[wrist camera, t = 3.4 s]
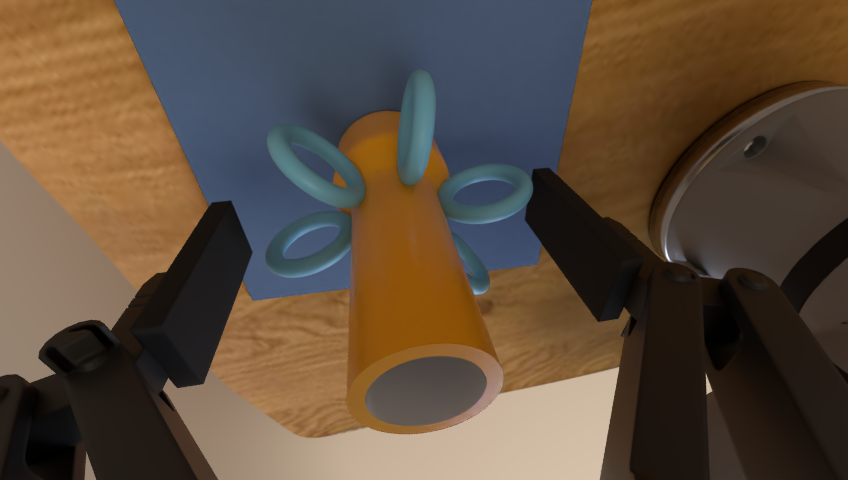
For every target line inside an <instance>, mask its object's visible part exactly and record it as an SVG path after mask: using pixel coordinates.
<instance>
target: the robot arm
mask: <svg viewBox="0 0 848 480" xmlns="http://www.w3.org/2000/svg"><path fill="white" fill-rule="evenodd" d="M531 180H532V183H533V193H532V196H531V198H530V200H529V202H528V203H527V208H526V214H525V221H526V223H527V224H528V225H529V227H530V228H531V229H532V231H533V232H534V234H535V235H536V236H537V238H538V239H539V241H540V242H541V243H542V245H543V246H544V248H545V249H546V250H547V252H548V253H549V254H550V256H551V257H552V259H553V260H554V261H555V263H556V264H557V266H558V267H559V268H560V270H561V271H562V273H563V274H564V275H565V277H566V278H567V279H568V281H569V282H570V284H571V285H572V286H573V288H574V289H575V291H576V292H577V293H578V295H579V296H580V297H581V299H582V300H583V302H584V303H585V304H586V306H587V307H588V309H589V310H590V311H591V313H592V314H593V316H594V317H595V318H596V320H597V321H598V322H600V321H607V320H613V319H618V318H619V316H620V314H621V312H622V309H623V307H625V308H626V310H627V311H628V312H629V313H630V314H631V315H630V317H629V320H628V322H627V324H626V326H625V328H624V330H623V332H622V334H621V336H622V337H625V339H624V344H623V350H622V356H621V361H620V367H619V374H618V379H617V385H616V390H615V396H614V402H613V407H612V413H611V419H610V424H609V430H608V436H607V442H606V447H605V453H604V459H603V464H602V470H601V477H600V480H848V86H846V85H841V84H836V83H831V82H824V81H808V82H801V83H796V84H792V85H788V86H785V87H782V88H778V89H776V90H773V91H771V92H768V93H766V94H764V95H762V96H760V97H758V98H756V99H754V100H752V101H750V102H748V103H747V104H745V105H743V106H741V107H740V108H738V109H737V110H735V111H734V112H732V113H731V114H729V115H728V116H726V117H725V118H724V119H722V120H721V121H720V122H718V123H717V124H716V125H715V126H713V127H712V128H711V129H710V130H709V131H707V132H706V133H705V134H704V135H703V136H702V137H701V138H700V139H699V140H698V141H697V142H696V143H695V144H694V145H693V146H692V147H691V148H690V149H689V150H688V151H687V152H686V153H685V155H684V156H683V157H682V158H681V159H680V160H679V162H678V163H677V164H676V166H675V167H674V168H673V170H672V171H671V173H670V174H669V176H668V177H667V179H666V180H665V182H664V184H663V186H662V187H661V189H660V191H659V194H658V196H657V198H656V200H655V203H654V206H653V209H652V213H651V218H650V229H649V231H650V238H651V242H652V244H653V246H654V248H655V250H656V251H657V253H658V254H659V255H660V256H661V257H663V258H664V259H665V260H666V261H667V262H663V261H662V260H661V259H660V258H659V257H658V256H657V255H656V254H654V253H653V252H652V251H651V250H650V249H649V248H648V247H647V246H646V245H644V244H643V243H642V242H641V241H640V240H637V237H636V236H634V235H633V234H632V233H630V231H629V230H628V229H627V228H626V227H624V226H623V225H622V224H621V223H619V222H617V221H615V220H613V219H611V218H609V217H605V218H602V217H601V216H600V215H599V214H598V213H597V212H595V211H594V210H593V209H592V208H591V207H590V206H589V205H588V204H587V203H586V202H585V201H584V200H583V199H582V198H581V197H580V196H579V195H577V194H576V193H575V192H574V191H573V190H572V189H571V188H570V187H569V186H568V185H567V184H566V183H565V182H564V181H563V180H562V179H561V178H560V177H558V176H557V175H556V174H555V173H554V172H553V171H552V170H551V169H550V168H539V169H533V172H532V178H531ZM252 253H253V251H252V249H251V247H250V244H249V242H248V239H247V237H246V235H245V232H244V230H243V227H242V225H241V223H240V220H239V218H238V216H237V213H236V211H235V208H234V206H233V204H232V201H231V200H230V201H221V202H212V203H211V204H210V206H209V207H208V209H207V210H206V212H205V214H204V215H203V217H202V218H201V220H200V221H199V223H198V224H197V226H196V227H195V229H194V230H193V232H192V234H191V235H190V237H189V238H188V240H187V241H186V243H185V244H184V246H183V247H182V249H181V251H180V252H179V254H178V255H177V257H176V258H175V260H174V261H173V263H172V264H171V266H170V267H169V269H168V271H167V272H164V273H157V274H155V275H154V276H153V277H152V278H150V279H149V280H148V281H147V282H146V283H144V284H143V285H142V287H141V288H140V290H139V291H138V293H137V294H136V296H135V298H134V299H133V300H132V301H131V303H130V304H129V305H128V308H126V310H125V311H124V313H123V314H122V315H121V317H120V318H119V320H118V321H117V323H116V324H115V325H114V327H113V328H112V330H111V331H110V330H109V329H108V327H107V326H106V325H105V324H104V323H102V322H101V321H98V320H88V321H84V322H79V323H77V324H74V325H72V326H69V327H67V328H65V329H64V330H62V331H60V332H59V333H57V334H55V335H54V336H53V337H52V338H50V339H49V340H48V341H47V342H46V343H45V344H44V346H43V347H42V348H41V350H40V351H39V359H40V360H41V361H42V362H43V363H44V364H46V365H47V366H48V367H49V368H50V369H51V370H53V371H54V372H55V373H56V374H54V375H51V376H48V377H45V378H43V379H40V380H37V381H34V382H32V383H29V382H27V381H26V380H25V379H24V378H22V377H20V376H19V375H16V374H14V375H5V376H1V377H0V480H84V477H85V463H86V451H87V454H88V457H89V460H90V463H91V466H92V468H93V471H94V474H95V477H96V480H218V479H217V477H216V476H215V474H214V472H213V470H212V469H211V467H210V465H209V464H208V462H207V460H206V459H205V457H204V455H203V454H202V452H201V450H200V449H199V447H198V445H197V444H196V442H195V440H194V439H193V437H192V435H191V434H190V432H189V430H188V429H187V427H186V425H185V424H184V422H183V420H182V419H181V417H180V415H179V414H178V412H177V410H176V409H175V407H174V405H173V404H172V402H171V400H170V399H169V397H168V396H167V394H166V393H165V392H164V391H163V387H164V385H165V383H166V381H167V379H168V378H169V379H170V380H171V381H172V382H173V384H174V385H175V386H176V387H177V388H181V387H187V386H194V385H200V384H203V383H204V381H205V378H206V376H207V373H208V371H209V368H210V365H211V363H212V360H213V357H214V355H215V352H216V349H217V347H218V344H219V341H220V339H221V336H222V333H223V331H224V328H225V325H226V323H227V320H228V317H229V315H230V312H231V309H232V307H233V304H234V301H235V299H236V296H237V293H238V291H239V288H240V285H241V283H242V280H243V277H244V275H245V272H246V269H247V267H248V264H249V261H250V259H251V256H252ZM706 374H707V377H708V380H709V383H710V385H711V388H712V392H710V393H708V394H707V395H706Z"/></svg>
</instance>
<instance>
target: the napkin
mask: <svg viewBox="0 0 848 480" xmlns="http://www.w3.org/2000/svg"><path fill="white" fill-rule="evenodd" d="M114 2H115V4H116V6H117V8H118V10H119V13H120V15H121V17H122V19H123V21H124V23H125V26H126V28H127V30H128V32H129V34H130V36H131V39H132V41H133V43H134V45H135V47H136V49H137V52H138V54H139V56H140V58H141V60H142V62H143V65H144V67H145V69H146V71H147V73H148V75H149V78H150V80H151V82H152V84H153V86H154V88H155V91H156V93H157V95H158V97H159V99H160V101H161V104H162V106H163V108H164V110H165V112H166V114H167V117H168V119H169V121H170V123H171V125H172V127H173V130H174V132H175V134H176V136H177V138H178V140H179V143H180V145H181V147H182V149H183V151H184V153H185V156H186V158H187V160H188V162H189V164H190V166H191V169H192V171H193V173H194V175H195V177H196V179H197V182H198V184H199V186H200V188H201V190H202V192H203V195H204V197H205V199H206V201H207V203H208V205H209V206H210V204H211V203H212V202H221V201H230V200H231V201H232V204H233V206H234V208H235V211H236V213H237V216H238V218H239V220H240V223H241V225H242V227H243V230H244V232H245V235H246V237H247V239H248V242H249V244H250V247H251V249H252V251H253V253H252V256H251V259H250V261H249V264H248V267H247V269H246V272H245V275H244V277H243V281H244V283H245V285H246V288H247V290H248V292H249V294H250V296H251V298H252V300H253V301H254V300H262V299H269V298H277V297H285V296H293V295H301V294H309V293H317V292H324V291H332V290H340V289H348V288H350V273H351V249H350V250H349V251H348V253H347V254H346V255H345V256H344V257H342V258H341V259H340V260H339V261H337V262H336V263H335V264H333V265H331V266H330V267H328V268H326V269H324V270H322V271H320V272H317V273H315V274H312V275H308V276H304V277H297V278H288V277H282V276H279V275H276V274H275V273H273V272H272V271H271V270H270V269H269V268H268V266H267V264H266V261H265V253H266V250H267V247H268V245H269V243H270V242H271V240H272V239H273V238H274V237H275V236H276V235H277V234H278V233H279V232H280V231H281V230H282V229H283V228H285V227H286V226H288V225H289V224H291V223H292V222H294V221H296V220H298V219H300V218H302V217H304V216H307V215H310V214H313V213H316V212H321V211H328V210H335V211H339V210H338V208H337V207H335V206H332V205H329V204H326V203H324V202H322V201H320V200H318V199H316V198H314V197H312V196H311V195H309V194H307V193H306V192H304V191H303V190H302V189H300V188H299V187H298V186H296V185H295V184H294V183H293V182H292V181H291V180H290V179H288V178H287V177H286V176H285V175H284V173H283V172H282V171H281V170H280V169H279V168H278V166H277V165H276V164H275V162H274V161H273V159H272V157H271V155H270V153H269V150H268V147H267V136H268V133H269V131H270V130H271V129H272V128H273V127H274V126H276V125H279V124H284V123H288V124H295V125H299V126H302V127H304V128H307V129H309V130H311V131H313V132H315V133H316V134H318V135H320V136H322V137H323V138H325V139H326V140H328V141H329V142H330V143H332V144H333V145H334V146H335V147H337V148H338V146H339V143H340V140H341V138H342V136H343V135H344V133H345V131H346V130H347V129H348V128H349V127H350V126H351V125H352V124H353V123H354V122H355V121H357V120H358V119H360V118H361V117H363V116H365V115H368V114H370V113H373V112H378V111H397V112H401V107H402V101H403V96H404V92H405V88H406V84H407V82H408V79H409V77H410V76H411V74H412V73H413V72H415V71H416V70H425V71H427V72H428V73H429V74H430V75H431V77H432V79H433V82H434V86H435V94H436V113H435V126H434V134H433V138H434V140H435V142H436V144H437V146H438V148H439V150H440V152H441V154H442V156H443V158H444V161H445V163H446V165H447V168H448V171H449V174H450V177H451V176H452V175H454V174H456V173H457V172H460V171H462V170H464V169H467V168H470V167H474V166H478V165H484V164H506V165H511V166H514V167H517V168H519V169H521V170H523V171H524V172H526V173H527V174H528V175H529V177H530V178H532V172H533V169H539V168H550V169H551V170H552V171H553V172H554V173H555V174H556V173H557V168H558V163H559V158H560V153H561V149H562V144H563V139H564V134H565V129H566V125H567V120H568V115H569V110H570V105H571V101H572V96H573V91H574V86H575V82H576V77H577V72H578V67H579V62H580V58H581V53H582V48H583V43H584V38H585V34H586V29H587V24H588V19H589V14H590V10H591V5H592V0H114ZM290 145H291V147H292V149H293V150H294V152H295V153H296V154H297V156H298V157H299V158H300V159H301V160H302V161H303V162H304V163H305V164H306V165H307V166H308V167H309V168H311V169H312V170H313V171H314V172H316V173H317V174H318V175H320V176H321V177H323V178H324V179H326V180H328V181H329V182H331V183H333V178H334V170H335V169H334V168H333V167H332V166H331V165H330V164H328V163H327V162H326V161H325V160H324V159H322V158H321V157H319V156H318V155H316V154H315V153H313V152H311V151H310V150H308V149H306V148H303V147H301V146H298V145H295V144H290ZM513 190H514V186H513V185H512V184H510V183H508V182H505V181H500V180H486V181H480V182H476V183H472V184H470V185H467V186H465V187H463V188H462V189H460V190H459V191H458V192H457V193H456V194H455V195H454V197H453V199H454V200H455V201H456V202H458V203H460V204H464V205H484V204H489V203H493V202H496V201H499V200H501V199H503V198H505V197H507V196H508V195H510V194H511V193H512V192H513ZM526 208H527V204H526V205H525V206H524V207H523V208H522V209H521V210H520V211H518V212H517V213H515V214H513V215H512V216H509V217H507V218H505V219H502V220H499V221H495V222H491V223H485V224H466V223H460V222H457V221H454V220H451V219H449V218H448V217H446V216H445V217H446V220H447V223H448V225H449V228H450V230H451V231H453V232H454V233H456V234H457V235H458V236H459V237H461V238H462V239H463V240H464V241H465V242H466V243H467V244H468V245H469V246H470V247H471V248H472V249H473V251H474V252H475V253H476V254H477V256H478V257H479V258H480V260H481V261H482V263H483V264H484V266H485V268H486V270H487V271H490V270H498V269H505V268H513V267H521V266H529V265H537V264H538V259H539V254H540V249H541V245H542V243H541V242H540V241H539V239H538V238H537V236H536V235H535V234H534V232H533V231H532V229H531V228H530V227H529V225H528V224H527V223H526V221H525V214H526ZM339 233H340V228H339V227H335V226H327V227H321V228H318V229H315V230H312V231H310V232H308V233H306V234H304V235H302V236H301V237H299V238H298V239H296V240H295V241H294V242H293V243H292V244H291V245H290V246H289V247H288V248H287V249H286V251H285V253H284V257H285V258H287V259H298V258H303V257H306V256H309V255H312V254H314V253H316V252H318V251H320V250H322V249H324V248H325V247H327V246H328V245H329V244H330V243H332V242H333V241H334V240H335V239H336V237H337V236H338V235H339ZM460 258H461V257H460ZM461 261H462V263H463V266H464V269H465V271H466V272H467V273H472V272H471V270H470V269H469V267H468V266H467V264H466V263H465V262H464V260H463V259H462V258H461Z"/></svg>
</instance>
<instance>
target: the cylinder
mask: <svg viewBox="0 0 848 480" xmlns="http://www.w3.org/2000/svg"><path fill="white" fill-rule="evenodd" d="M435 113H436V94H435V86H434V82H433V79H432V77H431V75H430V74H429V73H428V72H427V71H425V70H416V71H415V72H413V73H412V74H411V76H410V77H409V79H408V82H407V84H406V88H405V92H404V96H403V101H402V107H401V112H397V111H378V112H373V113H370V114H368V115H365V116H363V117H361V118H360V119H358V120H357V121H355V122H354V123H353V124H352V125H351V126H350V127H349V128H348V129H347V130H346V131H345V133H344V135H343V136H342V138H341V140H340V143H339V146H338V148H337V147H335V146H334V145H333V144H332V143H330V142H329V141H328V140H326V139H325V138H323V137H322V136H320V135H318V134H316V133H315V132H313V131H311V130H309V129H307V128H304V127H302V126H299V125H295V124H288V123H284V124H279V125H276V126H274V127H273V128H272V129H271V130H270V131H269V133H268V136H267V147H268V150H269V153H270V155H271V157H272V159H273V161H274V162H275V164H276V165H277V166H278V168H279V169H280V170H281V171H282V172H283V173H284V175H285V176H286V177H287V178H288V179H290V180H291V181H292V182H293V183H294V184H295V185H296V186H298V187H299V188H300V189H302V190H303V191H304V192H306V193H307V194H309V195H311V196H312V197H314V198H316V199H318V200H320V201H322V202H324V203H326V204H329V205H332V206H335V207H337V208H338V210H339V211H335V210H328V211H321V212H316V213H313V214H310V215H307V216H304V217H302V218H300V219H298V220H296V221H294V222H292V223H291V224H289V225H288V226H286V227H285V228H283V229H282V230H281V231H280V232H279V233H278V234H277V235H276V236H275V237H274V238H273V239H272V240H271V242H270V243H269V245H268V247H267V250H266V253H265V261H266V264H267V266H268V268H269V269H270V270H271V271H272V272H273V273H275V274H276V275H279V276H282V277H288V278H297V277H304V276H308V275H312V274H315V273H317V272H320V271H322V270H324V269H326V268H328V267H330V266H331V265H333V264H335V263H336V262H337V261H339V260H340V259H341V258H342V257H344V256H345V255H346V254H347V253H348V251H349V250H350V249H351V273H350V308H349V341H348V374H347V406H348V409H349V411H350V413H351V415H352V416H353V417H354V418H355V419H356V420H357V421H358V422H360V423H361V424H363V425H365V426H367V427H369V428H371V429H374V430H377V431H381V432H387V433H394V434H418V433H426V432H432V431H437V430H441V429H445V428H448V427H451V426H454V425H457V424H459V423H461V422H464V421H466V420H468V419H470V418H471V417H473V416H475V415H477V414H478V413H480V412H481V411H482V410H484V409H485V408H486V407H487V406H488V405H490V404H491V403H492V401H493V400H494V399H495V398H496V397H497V395H498V394H499V392H500V390H501V388H502V385H503V371H502V368H501V365H500V363H499V360H498V357H497V355H496V352H495V349H494V347H493V344H492V341H491V339H490V336H489V333H488V331H487V328H486V325H485V323H484V320H483V317H482V314H481V312H480V309H479V306H478V304H477V301H476V298H475V296H474V295H481V294H483V293H485V292H486V291H487V290H488V288H489V286H490V279H489V275H488V272H487V270H486V268H485V266H484V264H483V263H482V261H481V260H480V258H479V257H478V256H477V254H476V253H475V252H474V251H473V249H472V248H471V247H470V246H469V245H468V244H467V243H466V242H465V241H464V240H463V239H462V238H461V237H459V236H458V235H457V234H456V233H454V232H453V231H451V230H450V228H449V225H448V223H447V220H446V217H448V218H449V219H451V220H454V221H457V222H460V223H466V224H485V223H491V222H495V221H499V220H502V219H505V218H507V217H509V216H512V215H513V214H515V213H517V212H518V211H520V210H521V209H522V208H523V207H524V206H525V205H526V204H527V203H528V202H529V200H530V198H531V196H532V193H533V183H532V180H531V178H530V177H529V175H528V174H527V173H526V172H524V171H523V170H521V169H519V168H517V167H514V166H511V165H506V164H484V165H478V166H474V167H470V168H467V169H464V170H462V171H460V172H457V173H456V174H454V175H452V176H451V177H450V174H449V171H448V168H447V165H446V163H445V161H444V158H443V156H442V154H441V152H440V150H439V148H438V146H437V144H436V142H435V140H434V138H433V134H434V126H435ZM290 144H295V145H298V146H301V147H303V148H306V149H308V150H310V151H311V152H313V153H315V154H316V155H318V156H319V157H321V158H322V159H324V160H325V161H326V162H327V163H328V164H330V165H331V166H332V167H333V168H334V169H335V170H334V178H333V183H331V182H329V181H328V180H326V179H324V178H323V177H321V176H320V175H318V174H317V173H316V172H314V171H313V170H312V169H311V168H309V167H308V166H307V165H306V164H305V163H304V162H303V161H302V160H301V159H300V158H299V157H298V156H297V154H296V153H295V152H294V150H293V149H292V147H291V145H290ZM486 180H500V181H505V182H508V183H510V184H512V185H513V186H514V190H513V192H512V193H511V194H510V195H508V196H507V197H505V198H503V199H501V200H499V201H496V202H493V203H489V204H484V205H464V204H460V203H458V202H456V201H455V200H454V199H453V197H454V195H455V194H456V193H457V192H458V191H459V190H460V189H462V188H463V187H465V186H467V185H470V184H472V183H476V182H480V181H486ZM445 216H446V217H445ZM327 226H335V227H339V228H340V233H339V235H338V236H337V237H336V239H335V240H334V241H333V242H332V243H330V244H329V245H328V246H327V247H325V248H324V249H322V250H320V251H318V252H316V253H314V254H312V255H309V256H306V257H303V258H298V259H287V258H285V257H284V253H285V251H286V249H287V248H288V247H289V246H290V245H291V244H292V243H293V242H294V241H295V240H296V239H298V238H299V237H301V236H302V235H304V234H306V233H308V232H310V231H312V230H315V229H318V228H321V227H327ZM460 257H461V258H462V259H463V260H464V262H465V263H466V264H467V266H468V267H469V269H470V270H471V272H472V274H473V276H474V277H473V276H471V275H470V274H468V273H467V272H466V271H465V269H464V266H463V263H462V261H461V258H460Z"/></svg>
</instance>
